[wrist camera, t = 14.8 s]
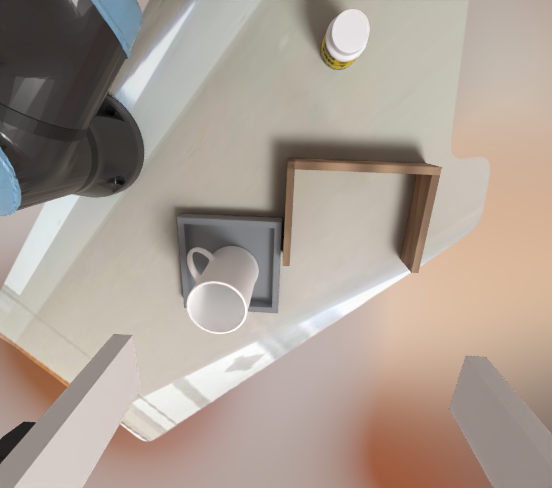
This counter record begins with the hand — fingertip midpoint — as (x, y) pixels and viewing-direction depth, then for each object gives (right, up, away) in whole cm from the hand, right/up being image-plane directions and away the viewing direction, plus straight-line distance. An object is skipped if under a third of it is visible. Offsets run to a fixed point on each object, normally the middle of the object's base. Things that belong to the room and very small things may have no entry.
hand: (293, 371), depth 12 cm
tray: (-8, +2, +39) cm, 40 cm away
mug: (-9, +2, +38) cm, 40 cm away
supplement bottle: (+8, +31, +28) cm, 42 cm away
